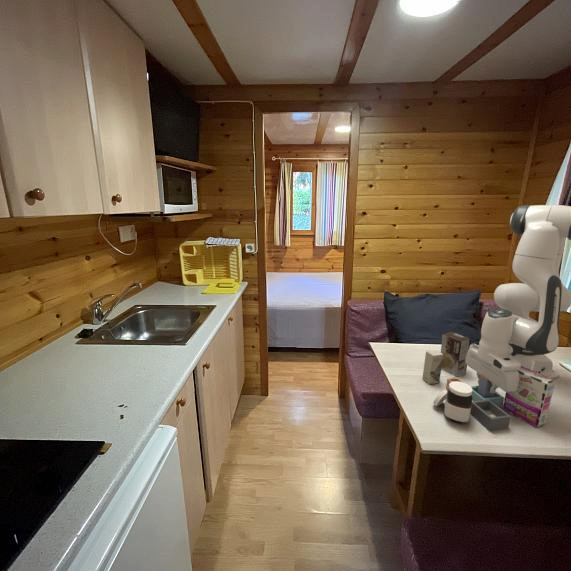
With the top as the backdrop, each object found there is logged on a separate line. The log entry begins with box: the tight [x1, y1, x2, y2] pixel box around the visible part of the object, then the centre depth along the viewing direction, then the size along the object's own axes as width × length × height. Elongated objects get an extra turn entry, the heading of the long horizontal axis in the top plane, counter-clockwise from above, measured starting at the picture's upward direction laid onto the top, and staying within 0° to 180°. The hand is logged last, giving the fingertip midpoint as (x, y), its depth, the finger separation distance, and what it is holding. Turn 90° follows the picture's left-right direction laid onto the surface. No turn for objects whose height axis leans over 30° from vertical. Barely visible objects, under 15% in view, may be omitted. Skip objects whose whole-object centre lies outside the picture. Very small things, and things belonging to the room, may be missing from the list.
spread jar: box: [432, 381, 473, 424], centre depth 106 cm, size 12×11×12 cm
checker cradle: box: [470, 400, 512, 432], centre depth 104 cm, size 7×10×4 cm
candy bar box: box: [502, 366, 556, 428], centre depth 104 cm, size 11×5×16 cm, turn 24°
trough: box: [470, 385, 505, 408], centre depth 114 cm, size 8×8×4 cm
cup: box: [445, 377, 465, 390], centre depth 119 cm, size 4×4×5 cm
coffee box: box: [440, 331, 472, 377], centre depth 133 cm, size 9×6×16 cm
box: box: [422, 349, 443, 385], centre depth 126 cm, size 5×4×13 cm
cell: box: [477, 373, 494, 398], centre depth 113 cm, size 4×4×10 cm
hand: (486, 388), depth 113 cm, fingers closed on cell, 3 cm apart
